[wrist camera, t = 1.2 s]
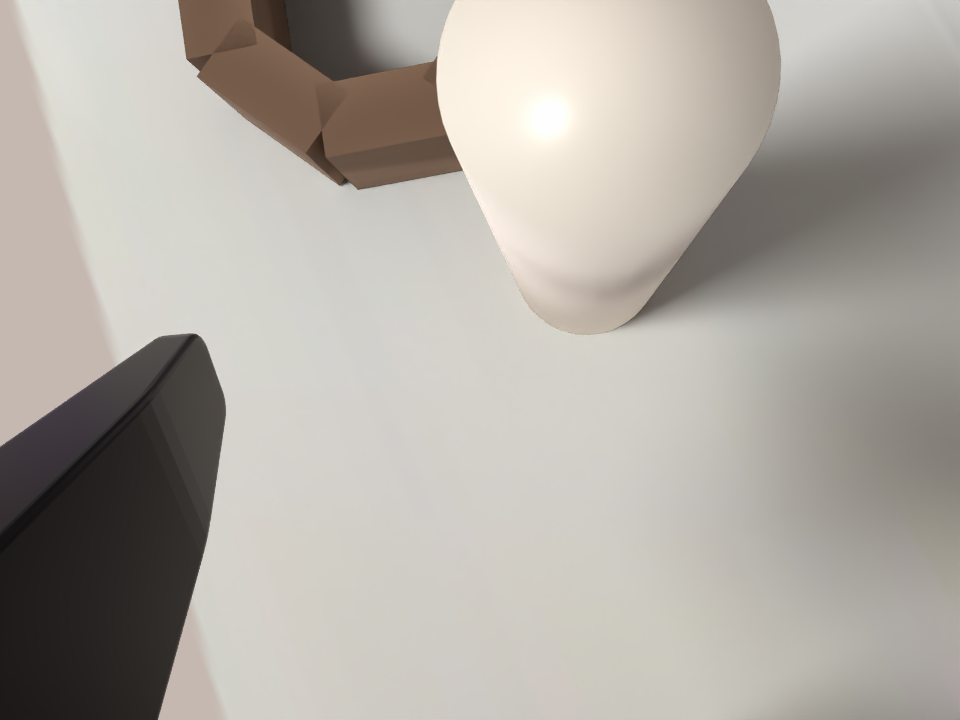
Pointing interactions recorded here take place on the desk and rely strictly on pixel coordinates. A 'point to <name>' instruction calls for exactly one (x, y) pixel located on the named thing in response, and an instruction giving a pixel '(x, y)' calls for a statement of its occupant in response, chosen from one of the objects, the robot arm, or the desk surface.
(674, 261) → the cream tapered cylinder
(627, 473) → the desk surface
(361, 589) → the desk surface
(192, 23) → the brown segmented ring
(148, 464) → the robot arm
